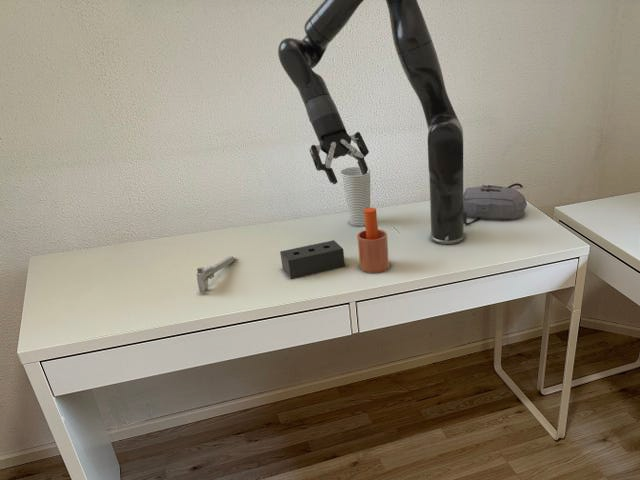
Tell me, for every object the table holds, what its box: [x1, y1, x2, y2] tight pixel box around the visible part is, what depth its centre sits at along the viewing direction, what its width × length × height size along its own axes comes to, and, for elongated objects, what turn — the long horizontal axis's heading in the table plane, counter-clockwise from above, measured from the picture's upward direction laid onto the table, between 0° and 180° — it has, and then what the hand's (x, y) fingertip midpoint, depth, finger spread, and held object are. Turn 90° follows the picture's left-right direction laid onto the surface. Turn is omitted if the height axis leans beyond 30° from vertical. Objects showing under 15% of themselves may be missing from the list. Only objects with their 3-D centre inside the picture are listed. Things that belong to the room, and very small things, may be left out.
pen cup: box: [356, 228, 390, 274], centre depth 173 cm, size 7×7×9 cm
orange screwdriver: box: [364, 207, 379, 240], centre depth 171 cm, size 3×3×15 cm
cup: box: [340, 166, 371, 227], centre depth 197 cm, size 8×8×16 cm
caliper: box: [196, 255, 236, 294], centre depth 169 cm, size 20×1×6 cm, turn 176°
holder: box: [279, 239, 346, 280], centre depth 174 cm, size 6×14×5 cm, turn 122°
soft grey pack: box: [463, 184, 528, 221], centre depth 207 cm, size 15×8×20 cm
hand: (350, 178), depth 174 cm, fingers open, 8 cm apart
